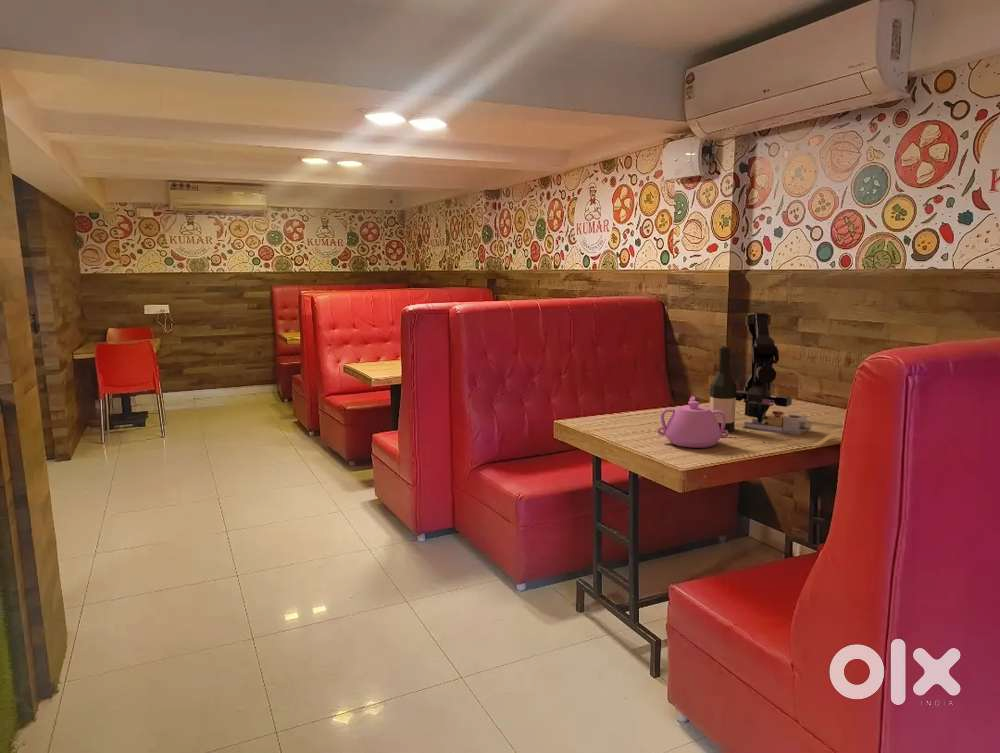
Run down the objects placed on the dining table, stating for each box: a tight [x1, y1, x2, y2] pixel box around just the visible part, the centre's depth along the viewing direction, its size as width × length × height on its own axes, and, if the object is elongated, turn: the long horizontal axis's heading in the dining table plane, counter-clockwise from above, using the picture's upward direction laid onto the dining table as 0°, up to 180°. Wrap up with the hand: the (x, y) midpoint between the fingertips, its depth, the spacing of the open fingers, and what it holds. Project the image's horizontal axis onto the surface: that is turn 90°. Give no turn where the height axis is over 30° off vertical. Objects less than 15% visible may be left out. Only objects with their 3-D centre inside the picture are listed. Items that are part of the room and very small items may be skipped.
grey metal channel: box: [740, 413, 812, 437], centre depth 232 cm, size 21×12×6 cm, turn 50°
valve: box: [762, 410, 788, 427], centre depth 231 cm, size 11×5×6 cm, turn 48°
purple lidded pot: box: [657, 395, 730, 449], centre depth 218 cm, size 22×22×14 cm
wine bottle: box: [709, 345, 737, 433], centre depth 229 cm, size 8×8×30 cm
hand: (759, 422), depth 236 cm, fingers closed
